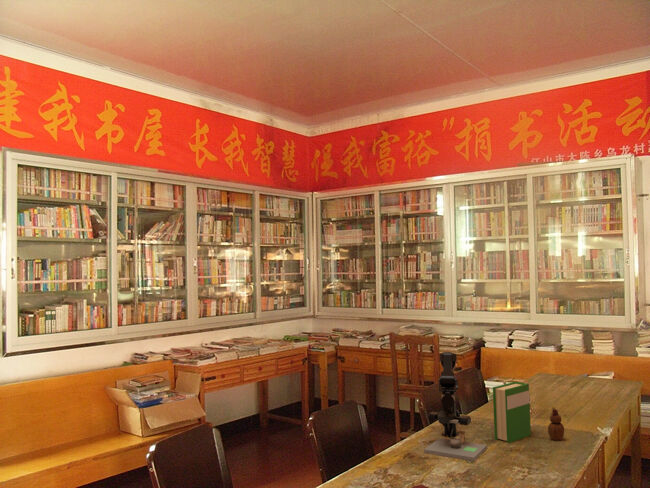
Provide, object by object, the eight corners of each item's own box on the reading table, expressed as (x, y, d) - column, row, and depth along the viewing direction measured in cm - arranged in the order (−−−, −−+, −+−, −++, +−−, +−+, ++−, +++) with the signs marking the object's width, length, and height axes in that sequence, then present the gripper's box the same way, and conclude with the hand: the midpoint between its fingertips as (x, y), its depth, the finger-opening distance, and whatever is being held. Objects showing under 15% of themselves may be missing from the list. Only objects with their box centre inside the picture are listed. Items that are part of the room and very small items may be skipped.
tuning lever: (458, 448, 241) (458, 438, 242) (449, 446, 244) (448, 437, 244) (467, 440, 251) (467, 431, 252) (458, 439, 254) (457, 430, 254)
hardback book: (508, 443, 252) (506, 389, 253) (494, 439, 258) (492, 387, 259) (530, 435, 263) (528, 383, 264) (517, 431, 269) (514, 381, 270)
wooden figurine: (554, 442, 252) (552, 408, 253) (546, 438, 258) (544, 405, 258) (567, 440, 254) (565, 407, 255) (558, 436, 260) (557, 404, 260)
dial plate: (439, 441, 258) (439, 437, 258) (486, 448, 246) (486, 444, 246) (424, 452, 243) (424, 449, 243) (474, 461, 231) (474, 457, 231)
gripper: (422, 404, 251) (423, 439, 251) (462, 409, 241) (464, 445, 241) (431, 398, 261) (432, 432, 260) (470, 403, 251) (472, 438, 250)
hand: (449, 437), depth 253 cm, fingers closed
